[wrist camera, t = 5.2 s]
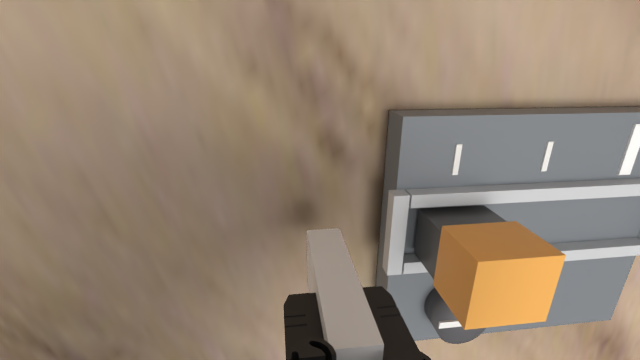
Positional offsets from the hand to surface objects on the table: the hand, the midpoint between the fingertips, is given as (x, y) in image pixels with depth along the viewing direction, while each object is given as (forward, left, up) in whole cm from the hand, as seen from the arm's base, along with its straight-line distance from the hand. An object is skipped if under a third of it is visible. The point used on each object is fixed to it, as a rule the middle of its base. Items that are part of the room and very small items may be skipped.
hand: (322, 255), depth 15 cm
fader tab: (0, -7, -2) cm, 7 cm away
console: (-1, -12, -4) cm, 13 cm away
